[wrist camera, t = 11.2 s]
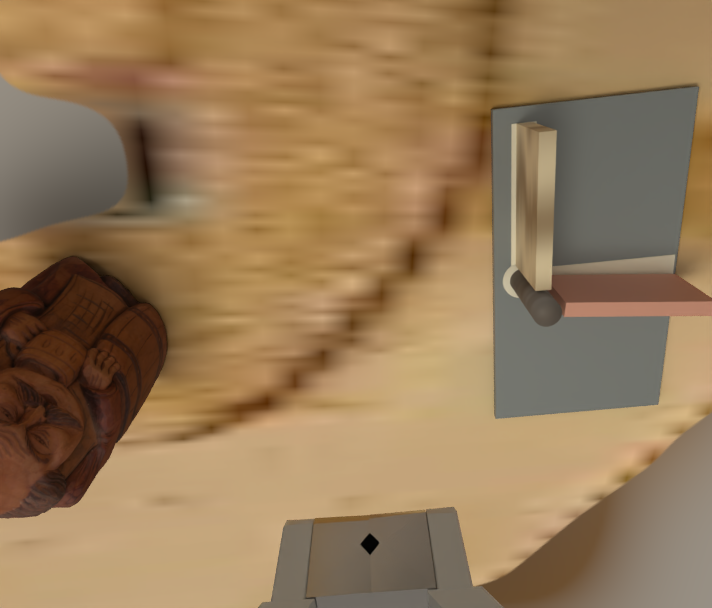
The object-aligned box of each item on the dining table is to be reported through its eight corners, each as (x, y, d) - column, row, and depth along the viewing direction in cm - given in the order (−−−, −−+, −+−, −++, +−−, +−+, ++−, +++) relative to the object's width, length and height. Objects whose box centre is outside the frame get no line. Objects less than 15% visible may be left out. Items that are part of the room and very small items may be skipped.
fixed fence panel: (509, 123, 36) (536, 135, 31) (537, 120, 36) (569, 131, 31) (509, 292, 41) (533, 328, 35) (534, 289, 41) (561, 325, 35)
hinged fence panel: (540, 288, 40) (564, 317, 36) (542, 275, 40) (566, 302, 35) (672, 286, 40) (712, 315, 36) (675, 273, 40) (716, 301, 35)
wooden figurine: (197, 340, 43) (98, 512, 27) (148, 389, 45) (26, 579, 28) (68, 236, 40) (-136, 358, 23) (20, 293, 42) (-201, 445, 25)
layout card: (491, 109, 36) (493, 109, 36) (694, 86, 36) (699, 86, 35) (494, 415, 46) (496, 419, 45) (655, 401, 45) (658, 405, 45)
